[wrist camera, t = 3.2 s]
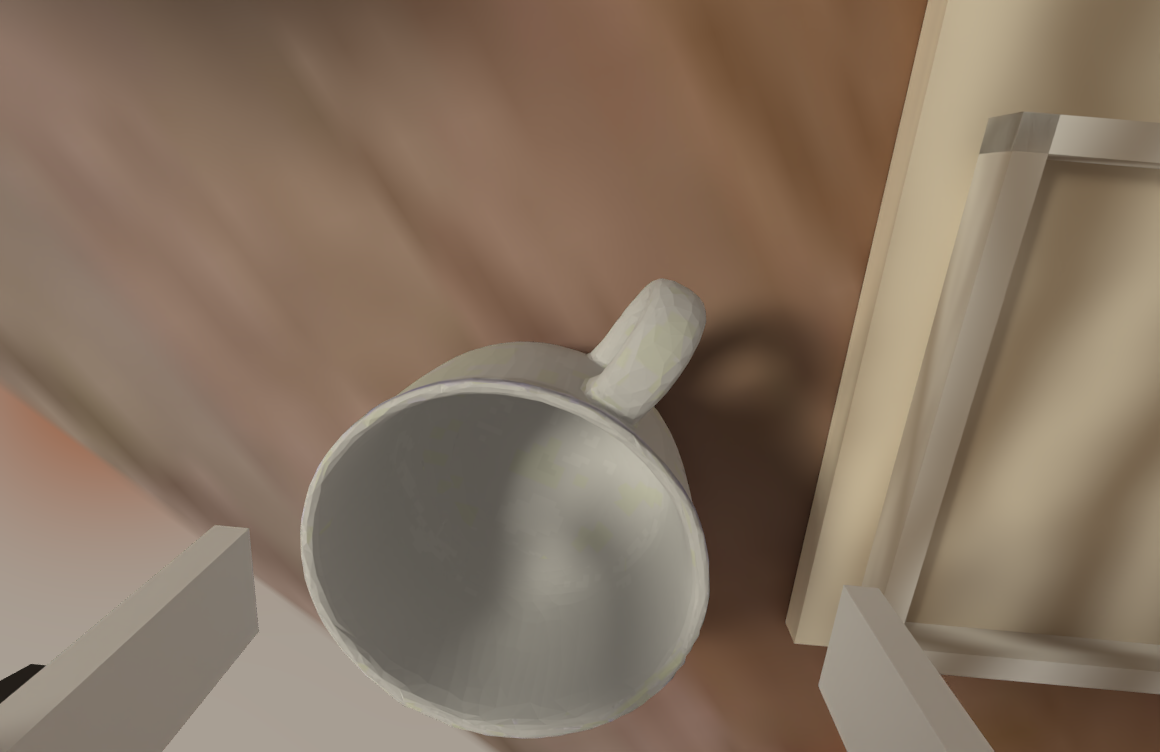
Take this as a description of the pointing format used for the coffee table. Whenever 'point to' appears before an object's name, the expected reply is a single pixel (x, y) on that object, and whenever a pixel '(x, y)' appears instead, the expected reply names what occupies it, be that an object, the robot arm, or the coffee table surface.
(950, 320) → the carrier board
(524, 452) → the teacup
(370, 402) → the coffee table surface
